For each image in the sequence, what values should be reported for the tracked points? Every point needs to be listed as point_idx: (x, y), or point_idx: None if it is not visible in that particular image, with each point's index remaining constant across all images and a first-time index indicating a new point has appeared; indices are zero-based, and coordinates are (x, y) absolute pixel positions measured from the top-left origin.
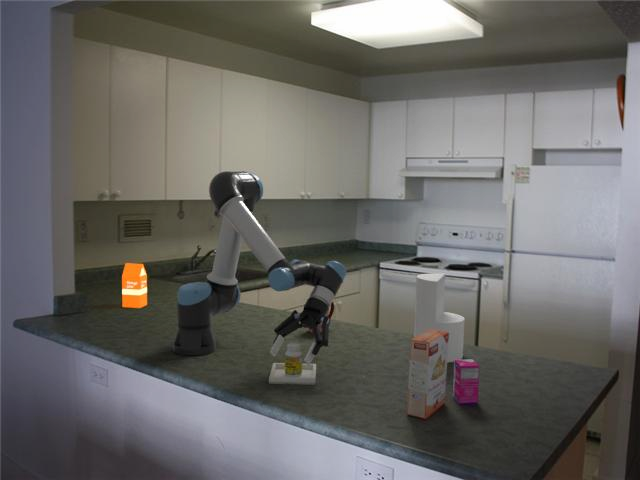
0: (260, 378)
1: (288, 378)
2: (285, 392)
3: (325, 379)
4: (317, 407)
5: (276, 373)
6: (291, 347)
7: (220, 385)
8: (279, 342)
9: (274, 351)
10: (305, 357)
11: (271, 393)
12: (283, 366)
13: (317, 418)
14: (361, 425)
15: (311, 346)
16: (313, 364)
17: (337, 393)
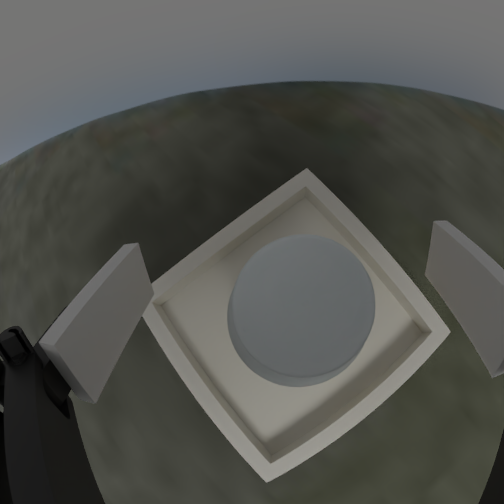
0: (378, 204)
1: (235, 222)
2: (193, 168)
3: (153, 389)
4: (72, 168)
5: None
6: (273, 241)
7: (392, 94)
8: (481, 302)
9: (439, 254)
10: (127, 254)
11: (226, 134)
12: (400, 360)
13: (61, 136)
14: (4, 180)
15: (75, 313)
16: (273, 468)
17: (60, 284)
